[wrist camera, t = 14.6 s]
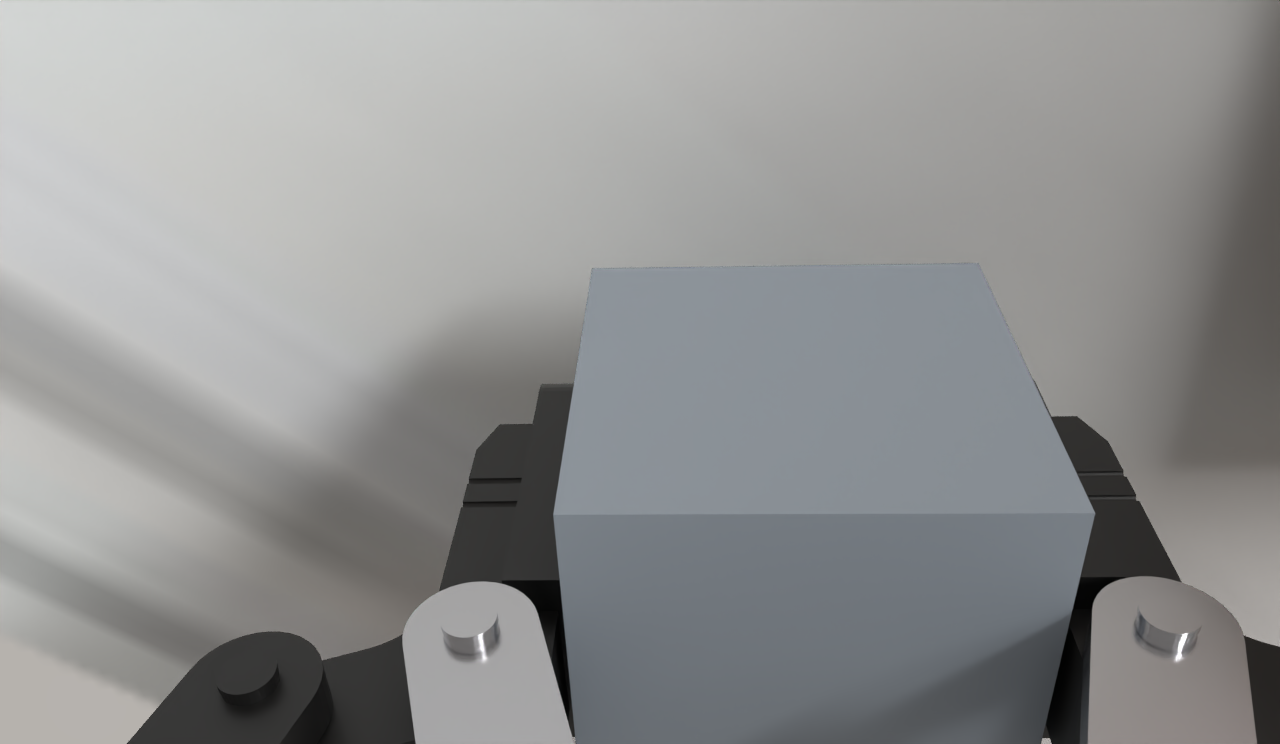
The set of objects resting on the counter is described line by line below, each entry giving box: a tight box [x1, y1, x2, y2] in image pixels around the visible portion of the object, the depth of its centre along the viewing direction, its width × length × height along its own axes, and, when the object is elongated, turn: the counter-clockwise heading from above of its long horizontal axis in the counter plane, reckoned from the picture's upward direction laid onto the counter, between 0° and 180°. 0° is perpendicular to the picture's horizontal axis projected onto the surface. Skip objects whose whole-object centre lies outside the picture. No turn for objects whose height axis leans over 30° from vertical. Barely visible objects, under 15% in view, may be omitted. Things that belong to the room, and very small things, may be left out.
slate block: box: [553, 263, 1095, 744], centre depth 13 cm, size 4×4×4 cm
